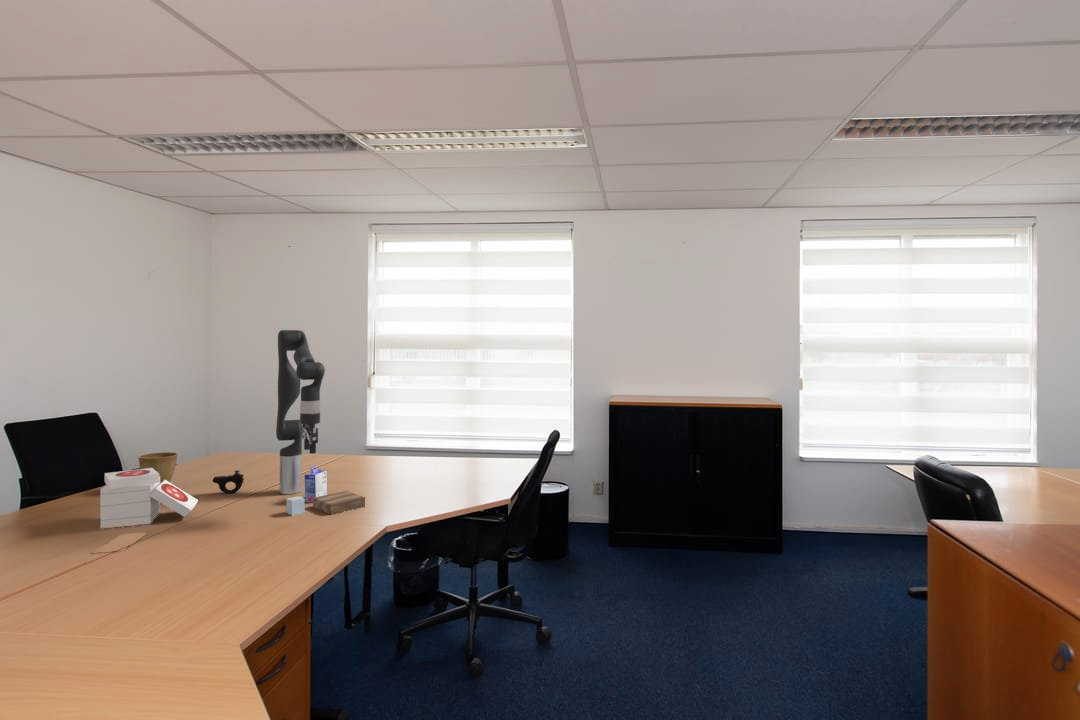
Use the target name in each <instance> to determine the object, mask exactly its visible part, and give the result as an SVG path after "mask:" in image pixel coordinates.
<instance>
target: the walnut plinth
mask: <svg viewBox="0 0 1080 720" xmlns="http://www.w3.org/2000/svg"><path fill="white" fill-rule="evenodd" d="M361 507H362V508H365V507H366V496H362V495H360V494H357V493H353V492H351V491H348V490H344V491H340V492H335V493H330V494H327V495H324V496H319V497H314V498H313V502H312V508H314V509H317V510H318V509H319V511H321V512H323V513H326V514H329V515H330V514H331V516H332V514H333V515H336V513H337V514H341V513H344V511H345V512H349V511H352V509H354V510H356V508H358V509H361ZM348 510H349V511H348ZM340 512H341V513H340Z"/></svg>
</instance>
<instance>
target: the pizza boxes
mask: <svg viewBox="0 0 1080 720" xmlns="http://www.w3.org/2000/svg"><path fill="white" fill-rule="evenodd" d="M104 483H105V485H104V486H103V487H101V488H100V529H101V528H102V527H112V526H122V525H135V524H147V523H151V522H152V521H153V520H154V519H155V517H156V516H157V515H158V514H159V513H160V514H161V504H162V505H164V506H165V507H167V508H169V509H171V510H172V511H173V512H175V513H177V514H179V515H180V516H182V517H184V518H186V517H187V516H188V515H189V514H190V513H191V512H192V510H193V509H194V508H195V507H196V505H197V503H198V502H199V499H197V498H195V497H194V496H192V495H191V494H189V493H187V492H186V491H184V490H183V489H181V488H179V487H178V486H176V485H174V484H173V483H172V482H171V481H170V482H168V481H167V480H164V481H163V482H162V483H161V484H160V476H159V473H158V472H157V471H155V470H154V469H153V468H146V469H140V468H138V469H130V470H122V471H120V470H119V471H112V472H104ZM160 514H159V515H160ZM159 515H158V516H159ZM158 516H157V517H158ZM157 517H156V518H157ZM155 520H156V519H155ZM155 520H154V521H155ZM154 521H153V522H154ZM153 522H152V523H153ZM152 523H151V524H152Z"/></svg>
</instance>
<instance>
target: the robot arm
mask: <svg viewBox="0 0 1080 720" xmlns="http://www.w3.org/2000/svg"><path fill="white" fill-rule="evenodd" d="M277 351H278V352H277V355H278V358H277V359H278V374H277V416H276V427H275V428H276V429H275V432H276V439H277V440H278V441H293V442H292V443H291V444H289V445H287V446H284V447H281V448H280V450H279V494H281V495H292V494H293V495H294V494H297V493H301V492H302V491H303V490H302V489H303V487H302V484H303V482H302V477H303V476H302V475H303V474H302V473H303V471H302V469H303V468H302V465H303V464H302V463H303V461H302V459H303V458H302V457H303V454H302V453H303V450H306V451H308V450H309V454H312V455H313V454H316V453H317V444H318V443H319V428H318V427H316V424H320V423H321V400H320V399H321V395H320V393H321V386H322V383H323V380H324V376H325V372H326V371H325V369H326V368H325V365H324V364H323V363H322V362H319V361H318V362H317V361H316V362H315V358H314V357H313V354H312V353H311V351H310V348H309V343H308V340H307V337H306V334H305V332H304V331H303V330H299V329H281V330H279V331H278V334H277ZM287 352H294V353H293V360H294V362H295V364H296V368H294V367H293V365H292V364H291V362H290V361H289V358H288V353H287ZM301 380H303V381H307V380H308V381H312V380H313V382H312V383H311V384H308V385H303V386H301ZM299 396H300V404H299V419H286V418H287V414H288V412H289V410H290V408H291V407H292V406H293V405H294V403H295V402H296V400H297V399H298V398H299ZM302 445H303V447H302ZM302 449H303V450H302Z"/></svg>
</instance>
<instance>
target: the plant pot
mask: <svg viewBox="0 0 1080 720" xmlns="http://www.w3.org/2000/svg"><path fill="white" fill-rule="evenodd" d="M178 455H179V454H178V453H177V452H153V453H152V452H150V453H147V454H145V453H144V454H141V455H138V458H137V459H138V463H139V469H146V468H153V469H154V470H155V471H157V472H158V473H159V476H160V484H161V483H162V482H163V481H164V480H167V481H168V482H170V483H171V480H172V478H173V475H174V473H175V469H176V465H177V460H178Z"/></svg>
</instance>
